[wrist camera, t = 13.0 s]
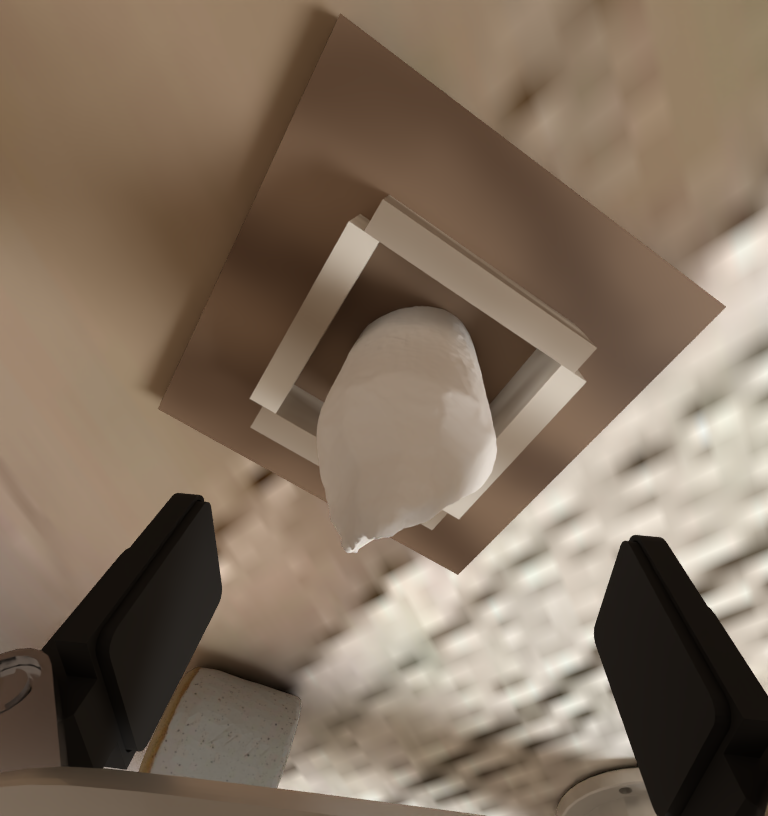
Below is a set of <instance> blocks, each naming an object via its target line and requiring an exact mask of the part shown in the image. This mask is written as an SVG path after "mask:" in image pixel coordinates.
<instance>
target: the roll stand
mask: <svg viewBox="0 0 768 816" xmlns="http://www.w3.org/2000/svg"><path fill="white" fill-rule="evenodd" d="M414 306H429V307H435V308H439V309H443V310H446V311H447V312H450V313H451V314H453V315H454V316H456V317H457V318H458V319H459V320H460V321H461V322H462V323H463V325H464V326H465V328H466V329H467V331H468V332H469V334H470V337H471V339H472V342H473V345H474V348H475V351H476V356H477V360H478V364H479V366H480V370H481V373H482V380H483V384H484V388H485V391H486V397H487V400H488V403H489V408H490V412H491V416H492V421H493V427H494V431H495V435H496V446H497V454H496V460H495V462H494V466H493V470H492V473H491V474H490V476H489V477H488V479H487V480H486V482H485V483H484V484H483V486H482V487H481V488H479V489H478V490H477V491H476V492H474V493H472V494H470V495H468V496H466V497H464V498H461V499H460V500H459V501H457V502H455V503H454V504H452V505H448V506H446V507H445V508H444V509H442V510H441V511H440V512H439V513H438V514H437V515H435V516H434V517H433V518H432V519H430V520H429V521H427V522H425V523H421V524H418V525H415V526H412V527H408V528H403V529H402V530H401V531H399V532H397V533H396V534H395V535H394V536H391V538H392V539H394V540H396V541H398V542H400V543H401V544H403V545H405V546H407V547H409V548H410V549H412V550H414V551H416V552H418V553H420V554H421V555H423V556H425V557H427V558H429V559H430V560H432V561H434V562H436V563H438V564H439V565H441V566H443V567H445V568H447V569H448V570H450V571H452V572H454V573H456V574H457V575H458V574H459V573H460V572H461V571H462V570H463V569H464V568H465V567H466V566H467V565H468V564H469V563H470V562H471V561H472V560H473V559H474V558H475V557H476V556H477V555H478V554H479V553H480V552H481V551H482V550H483V549H484V548H485V547H486V546H487V545H488V544H489V543H490V542H491V541H492V540H493V539H494V538H495V537H496V536H497V535H498V534H499V533H500V532H501V531H502V530H503V529H504V528H505V527H506V526H507V525H508V524H509V523H510V522H511V521H512V520H513V519H514V518H515V517H516V516H517V515H518V514H519V513H520V512H521V511H522V510H523V509H524V508H525V507H526V506H527V505H528V504H529V503H530V502H531V501H532V500H533V499H534V498H535V497H536V496H537V495H538V494H539V493H540V492H541V491H542V490H543V489H544V488H545V487H546V486H547V485H548V484H549V483H550V482H551V481H552V480H553V479H554V478H555V477H556V476H557V475H558V474H559V473H560V472H561V471H562V470H563V469H564V468H565V467H566V466H567V465H568V464H569V463H570V462H571V461H572V460H573V459H574V458H575V457H576V456H577V455H578V454H579V453H580V452H581V451H582V450H583V449H584V448H585V447H586V446H587V445H588V444H589V443H590V442H591V441H592V440H593V439H594V438H595V437H596V436H597V435H598V434H599V433H600V432H601V431H602V430H603V429H604V428H605V427H606V426H607V425H608V424H609V423H610V422H611V421H612V420H613V419H614V418H615V417H616V416H617V415H618V414H619V413H620V412H621V411H622V410H623V409H624V408H625V407H626V406H627V405H628V404H629V403H630V402H631V401H632V400H633V399H634V398H635V397H636V396H637V395H638V394H639V393H640V392H641V391H642V390H643V389H644V388H645V387H646V386H647V385H648V384H649V383H650V382H651V381H652V380H653V379H654V378H655V377H656V376H657V375H658V374H659V373H660V372H661V371H662V370H663V369H664V368H665V367H666V366H667V365H668V364H669V363H670V362H671V361H672V360H673V359H674V358H675V357H676V356H677V355H678V354H679V353H680V352H681V351H682V350H683V349H684V348H685V347H686V346H687V345H688V344H689V343H690V342H691V341H692V340H693V339H694V338H695V337H696V336H697V335H698V334H699V333H700V332H701V331H702V330H703V329H704V328H705V327H706V326H707V325H708V324H709V323H710V322H711V321H712V320H713V319H714V318H715V317H716V316H717V315H718V314H719V313H720V312H721V311H722V310H723V309H724V308H725V307H726V306H724V305H723V304H722V303H720V302H719V301H718V300H716V299H715V298H714V297H713V296H711V295H710V294H709V293H707V292H706V291H705V290H703V289H702V288H701V287H699V286H698V285H697V284H695V283H694V282H693V281H691V280H690V279H689V278H688V277H686V276H685V275H684V274H682V273H681V272H680V271H678V270H677V269H676V268H674V267H673V266H672V265H670V264H669V263H668V262H666V261H665V260H664V259H663V258H661V257H660V256H659V255H657V254H656V253H655V252H653V251H652V250H651V249H649V248H648V247H647V246H645V245H644V244H643V243H641V242H640V241H639V240H638V239H636V238H635V237H634V236H632V235H631V234H630V233H628V232H627V231H626V230H624V229H623V228H622V227H620V226H619V225H618V224H617V223H615V222H614V221H613V220H611V219H610V218H609V217H607V216H606V215H605V214H603V213H602V212H601V211H599V210H598V209H597V208H595V207H594V206H593V205H592V204H590V203H589V202H588V201H586V200H585V199H584V198H582V197H581V196H580V195H578V194H577V193H576V192H574V191H573V190H572V189H570V188H569V187H568V186H567V185H565V184H564V183H563V182H561V181H560V180H559V179H557V178H556V177H555V176H553V175H552V174H551V173H549V172H548V171H547V170H545V169H544V168H543V167H542V166H540V165H539V164H538V163H536V162H535V161H534V160H532V159H531V158H530V157H528V156H527V155H526V154H524V153H523V152H522V151H520V150H519V149H518V148H517V147H515V146H514V145H513V144H511V143H510V142H509V141H507V140H506V139H505V138H503V137H502V136H501V135H499V134H498V133H497V132H496V131H494V130H493V129H492V128H490V127H489V126H488V125H486V124H485V123H484V122H482V121H481V120H480V119H478V118H477V117H476V116H474V115H473V114H472V113H471V112H469V111H468V110H467V109H465V108H464V107H463V106H461V105H460V104H459V103H457V102H456V101H455V100H453V99H452V98H451V97H449V96H448V95H447V94H446V93H444V92H443V91H442V90H440V89H439V88H438V87H436V86H435V85H434V84H432V83H431V82H430V81H428V80H427V79H426V78H424V77H423V76H422V75H421V74H419V73H418V72H417V71H415V70H414V69H413V68H411V67H410V66H409V65H407V64H406V63H405V62H403V61H402V60H401V59H400V58H398V57H397V56H396V55H394V54H393V53H392V52H390V51H389V50H388V49H386V48H385V47H384V46H382V45H381V44H380V43H378V42H377V41H376V40H375V39H373V38H372V37H371V36H369V35H368V34H367V33H365V32H364V31H363V30H361V29H360V28H359V27H357V26H356V25H355V24H353V23H352V22H351V21H350V20H348V19H347V18H346V17H344V16H343V15H342V14H340V15H339V17H338V20H337V22H336V24H335V26H334V28H333V30H332V33H331V35H330V37H329V39H328V41H327V43H326V46H325V48H324V50H323V52H322V54H321V56H320V59H319V61H318V63H317V65H316V67H315V69H314V72H313V74H312V76H311V78H310V80H309V82H308V85H307V87H306V89H305V91H304V93H303V95H302V98H301V100H300V102H299V104H298V106H297V108H296V111H295V113H294V115H293V117H292V119H291V121H290V124H289V126H288V128H287V130H286V132H285V134H284V137H283V139H282V141H281V143H280V145H279V148H278V150H277V152H276V154H275V156H274V158H273V161H272V163H271V165H270V167H269V169H268V171H267V174H266V176H265V178H264V180H263V182H262V184H261V187H260V189H259V191H258V193H257V195H256V197H255V200H254V202H253V204H252V206H251V208H250V210H249V213H248V215H247V217H246V219H245V221H244V223H243V226H242V228H241V230H240V232H239V234H238V236H237V239H236V241H235V243H234V245H233V247H232V249H231V252H230V254H229V256H228V258H227V260H226V262H225V265H224V267H223V269H222V271H221V273H220V275H219V278H218V280H217V282H216V284H215V286H214V289H213V291H212V293H211V295H210V297H209V299H208V302H207V304H206V306H205V308H204V310H203V312H202V315H201V317H200V319H199V321H198V323H197V325H196V328H195V330H194V332H193V334H192V336H191V338H190V341H189V343H188V345H187V347H186V349H185V351H184V354H183V356H182V358H181V360H180V362H179V364H178V367H177V369H176V371H175V373H174V375H173V377H172V380H171V382H170V384H169V386H168V388H167V390H166V393H165V395H164V397H163V399H162V401H161V403H160V406H159V408H158V409H159V410H161V411H163V412H164V413H166V414H168V415H170V416H172V417H173V418H175V419H177V420H179V421H181V422H183V423H184V424H186V425H188V426H190V427H192V428H193V429H195V430H197V431H199V432H201V433H202V434H204V435H206V436H208V437H210V438H211V439H213V440H215V441H217V442H219V443H221V444H222V445H224V446H226V447H228V448H230V449H231V450H233V451H235V452H237V453H239V454H240V455H242V456H244V457H246V458H248V459H249V460H251V461H253V462H255V463H257V464H259V465H260V466H262V467H264V468H266V469H268V470H269V471H271V472H273V473H275V474H277V475H278V476H280V477H282V478H284V479H286V480H287V481H289V482H291V483H293V484H295V485H296V486H298V487H300V488H302V489H304V490H306V491H307V492H309V493H311V494H313V495H315V496H316V497H318V498H320V499H322V500H324V501H325V502H327V500H326V493H325V488H324V486H323V483H322V480H321V476H320V466H319V458H318V450H317V424H318V419H319V415H320V411H321V408H322V406H323V404H324V402H325V400H326V397H327V395H328V393H329V391H330V389H331V387H332V385H333V384H334V382H335V380H336V378H337V376H338V374H339V372H340V371H341V368H342V366H343V364H344V362H345V361H346V358H347V356H348V354H349V352H350V350H351V349H352V347H353V346H354V344H355V342H356V341H357V340H358V338H359V336H360V334H361V333H362V332H363V330H364V329H365V328H366V327H367V326H368V325H369V324H370V323H372V322H374V321H375V320H376V319H378V318H380V317H382V316H384V315H386V314H388V313H390V312H393V311H395V310H398V309H402V308H411V307H414Z"/></svg>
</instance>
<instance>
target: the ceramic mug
mask: <svg viewBox="0 0 768 816" xmlns="http://www.w3.org/2000/svg"><path fill="white" fill-rule="evenodd" d="M300 711H301V700H300V698H299V697H297V696H294V695H291V694H288V693H285V692H282V691H279V690H276V689H273V688H270V687H267V686H264V685H261V684H258V683H254V682H251V681H247V680H244V679H241V678H239V677H236V676H233V675H230V674H228V673H225V672H222V671H219V670H215V669H209V668H201V667H197V668H195V669H193V670H191V671H189V672H188V673H187V674H186V675H185V676H184V678H183V679H182V681H181V682H180V684H179V686H178V687H177V689H176V691H175V693H174V695H173V696H172V698H171V700H170V702H169V704H168V706H167V708H166V710H165V712H164V714H163V716H162V718H161V720H160V722H159V725H158V727H157V729H156V731H155V733H154V735H153V738H152V740H151V742H150V744H149V746H148V748H147V751H146V753H145V755H144V758H143V761H142V763H141V766H140V768H139V772H143V773H152V774H162V775H171V776H181V777H190V778H198V779H206V780H214V781H222V782H230V783H238V784H246V785H254V786H261V787H269V788H277V787H278V784H279V782H280V779H281V777H282V774H283V771H284V768H285V765H286V761H287V758H288V755H289V752H290V749H291V746H292V742H293V738H294V735H295V732H296V728H297V723H298V720H299V717H300Z"/></svg>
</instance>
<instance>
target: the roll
mask: <svg viewBox="0 0 768 816" xmlns="http://www.w3.org/2000/svg"><path fill="white" fill-rule="evenodd" d="M317 450H318V458H319V466H320V476H321V480H322V483H323V486H324V488H325V493H326V500H327V503H328V506H329V514H330V520H331V522H332V523H333V525H334V527H335V529H336V530H337V532H338V533H339V534H340V536H341V544H342V547H343V549H344V550H345V551H346V552H347V553H351V552H355V553H357V552H358V549H360V548H361V547H363V546H364V545H366V544H367V543H369V542H370V541H372V540H373V539H381V538H384V537H387V538H388V537H391V536H394V535H395V534H396V533H397V532H399V531H401V530H402V529H403V528H408V527H412V526H415V525H418V524H421V523H425V522H427V521H429V520H430V519H432V518H433V517H434V516H435V515H437V514H438V513H439V512H440V511H441V510H442V509H444V508H445V507H446V506H448V505H452V504H454V503H455V502H457V501H459V500H460V499H461V498H464V497H466V496H468V495H470V494H472V493H474V492H476V491H477V490H478V489H479V488H481V487H482V486H483V484H484V483H485V482H486V480H487V479H488V477H489V476H490V474H491V473H492V470H493V466H494V462H495V460H496V454H497V446H496V435H495V431H494V427H493V421H492V416H491V412H490V408H489V403H488V400H487V397H486V391H485V388H484V384H483V380H482V373H481V370H480V366H479V364H478V360H477V356H476V351H475V348H474V345H473V342H472V339H471V337H470V334H469V332H468V331H467V329H466V328H465V326H464V325H463V323H462V322H461V321H460V320H459V319H458V318H457V317H456V316H454V315H453V314H451V313H450V312H447V311H446V310H443V309H439V308H435V307H429V306H414V307H411V308H402V309H398V310H395V311H393V312H390V313H388V314H386V315H384V316H382V317H380V318H378V319H376V320H375V321H374V322H372V323H370V324H369V325H368V326H367V327H366V328H365V329H364V330H363V332H362V333H361V334H360V336H359V338H358V340H357V341H356V342H355V344H354V346H353V347H352V349H351V350H350V352H349V354H348V356H347V358H346V361H345V362H344V364H343V366H342V368H341V371H340V372H339V374H338V376H337V378H336V380H335V382H334V384H333V385H332V387H331V389H330V391H329V393H328V395H327V397H326V400H325V402H324V404H323V406H322V408H321V411H320V415H319V419H318V424H317Z"/></svg>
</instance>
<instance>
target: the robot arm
mask: <svg viewBox="0 0 768 816" xmlns="http://www.w3.org/2000/svg"><path fill="white" fill-rule="evenodd" d="M221 594H222V583H221V576H220V569H219V562H218V554H217V547H216V540H215V532H214V525H213V518H212V510H211V505H210V503H209V502H204V498H203V497H202V496H201V495H194V494H183V493H176V494H174V495H173V496H172V497H171V498H170V500H169V501H168V502H167V503H166V504H165V506H164V507H163V508H162V509H161V510H160V512H159V513H158V514H157V515H156V516H155V518H154V519H153V520H152V521H151V523H150V524H149V525H148V526H147V527H146V529H145V530H144V531H143V532H142V533H141V535H140V536H139V537H138V538H137V540H136V541H135V542H134V543H133V544H132V546H131V547H130V548H128V549H126V550H125V551H124V552H123V553H122V554H121V555H120V556H119V557H118V558H117V560H116V561H115V562H114V563H113V564H112V566H111V567H110V568H109V569H108V570H107V572H106V573H105V574H104V575H103V576H102V578H101V579H100V580H99V581H98V582H97V584H96V585H95V586H94V587H93V588H92V590H91V591H90V592H89V593H88V594H87V596H86V597H85V598H84V599H83V600H82V602H81V603H80V604H79V605H78V606H77V608H76V609H75V610H74V611H73V612H72V614H71V615H70V616H69V617H68V618H67V620H66V621H65V622H64V623H63V624H62V626H61V627H60V628H59V629H58V630H57V632H56V633H55V634H54V635H53V636H52V638H51V639H50V640H49V641H48V642H47V644H46V645H45V646H44V647H43V648H42V650H37V649H32V648H25V649H15V650H12V651H9V652H5V653H2V654H0V816H485V815H477V814H470V813H462V812H455V811H447V810H440V809H432V808H424V807H417V806H409V805H402V804H394V803H386V802H379V801H371V800H363V799H356V798H348V797H340V796H333V795H325V794H317V793H309V792H301V791H293V790H285V789H277V788H269V787H261V786H254V785H246V784H238V783H230V782H222V781H214V780H206V779H198V778H190V777H181V776H171V775H162V774H152V773H143V772H133V771H123V770H114V769H103V767H111V768H119V769H126V770H127V768H128V766H129V764H130V762H131V760H132V758H133V756H134V754H135V752H136V751H142V750H144V748H145V747H146V746H147V744H148V742H149V741H150V739H151V737H152V735H153V733H154V731H155V729H156V727H157V725H158V723H159V721H160V719H161V717H162V715H163V713H164V711H165V709H166V707H167V705H168V703H169V701H170V699H171V697H172V695H173V693H174V691H175V689H176V687H177V685H178V683H179V681H180V679H181V677H182V675H183V673H184V671H185V669H186V667H187V665H188V664H189V662H190V660H191V658H192V656H193V654H194V652H195V650H196V648H197V646H198V644H199V642H200V640H201V638H202V636H203V634H204V632H205V630H206V628H207V626H208V624H209V622H210V620H211V618H212V616H213V614H214V612H215V610H216V608H217V606H218V604H219V602H220V599H221ZM594 639H595V644H596V647H597V650H598V652H599V655H600V658H601V661H602V664H603V667H604V670H605V673H606V675H607V678H608V681H609V684H610V687H611V690H612V693H613V695H614V698H615V701H616V704H617V707H618V710H619V713H620V715H621V718H622V721H623V724H624V727H625V730H626V733H627V736H628V738H629V741H630V744H631V747H632V750H633V753H634V756H635V758H636V761H637V764H638V767H636V768H626V769H619V770H614V771H609V772H605V773H602V774H599V775H596V776H593V777H590V778H588V779H586V780H584V781H582V782H580V783H578V784H577V785H575V786H574V787H573V788H571V789H570V790H569V791H568V792H567V793H566V794H565V795H564V796H563V797H562V799H561V800H560V802H559V804H558V807H557V813H556V816H768V695H767V694H766V692H765V691H764V689H763V688H762V686H761V685H760V683H759V681H758V680H757V678H756V677H755V675H754V674H753V672H752V671H751V669H750V668H749V666H748V664H747V663H746V661H745V660H744V658H743V657H742V655H741V654H740V652H739V651H738V649H737V647H736V646H735V644H734V643H733V641H732V640H731V638H730V637H729V635H728V634H727V632H726V631H725V629H724V627H723V626H722V624H721V623H720V621H719V620H718V618H717V617H716V615H715V614H714V613H713V611H712V610H711V609H710V608H709V607H708V606H707V605H706V603H705V602H704V600H703V598H702V597H701V595H700V594H699V592H698V591H697V589H696V588H695V586H694V584H693V583H692V581H691V580H690V578H689V577H688V575H687V574H686V572H685V570H684V569H683V567H682V566H681V564H680V563H679V561H678V560H677V558H676V556H675V555H674V553H673V552H672V550H671V549H670V547H669V546H668V544H667V542H666V541H665V540H664V539H663V538H661V537H651V536H640V535H633V536H632V537H631V538H630V540H629V541H623V542H622V544H621V546H620V549H619V552H618V555H617V558H616V561H615V565H614V568H613V571H612V574H611V577H610V580H609V583H608V586H607V589H606V592H605V596H604V599H603V602H602V605H601V608H600V611H599V614H598V617H597V620H596V623H595V627H594Z"/></svg>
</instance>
